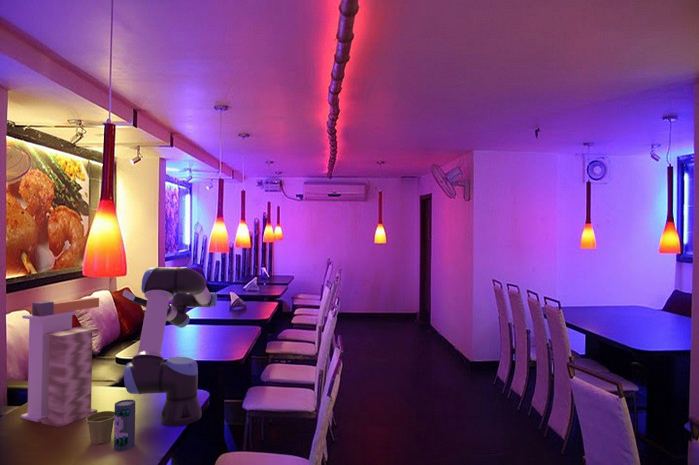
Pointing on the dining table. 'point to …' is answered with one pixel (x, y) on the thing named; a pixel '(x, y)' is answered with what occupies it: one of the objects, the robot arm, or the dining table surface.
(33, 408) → the grey stand
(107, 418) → the plant pot
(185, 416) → the robot arm
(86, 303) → the orange bar
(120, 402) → the can
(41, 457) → the dining table surface
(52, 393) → the birch stand
